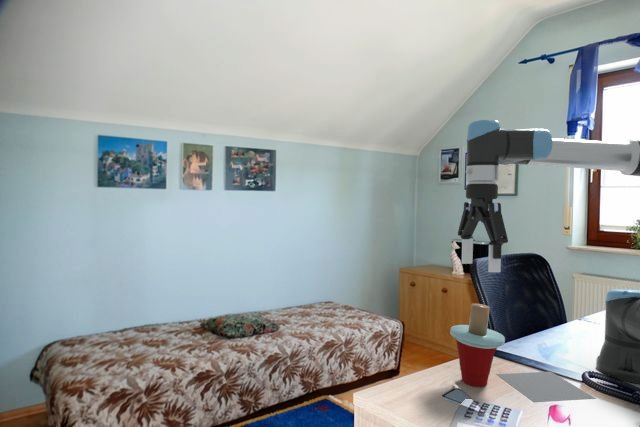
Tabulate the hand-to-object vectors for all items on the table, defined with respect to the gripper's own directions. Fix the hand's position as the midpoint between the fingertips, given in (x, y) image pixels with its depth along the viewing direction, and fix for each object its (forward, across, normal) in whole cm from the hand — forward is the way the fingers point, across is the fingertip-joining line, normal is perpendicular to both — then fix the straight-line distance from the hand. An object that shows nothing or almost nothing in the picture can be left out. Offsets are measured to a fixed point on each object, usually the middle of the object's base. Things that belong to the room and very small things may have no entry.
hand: (479, 267), depth 111 cm
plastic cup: (+30, 0, 0) cm, 30 cm away
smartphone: (+30, +10, -5) cm, 32 cm away
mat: (+30, +4, +16) cm, 34 cm away
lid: (+18, 0, 0) cm, 18 cm away
